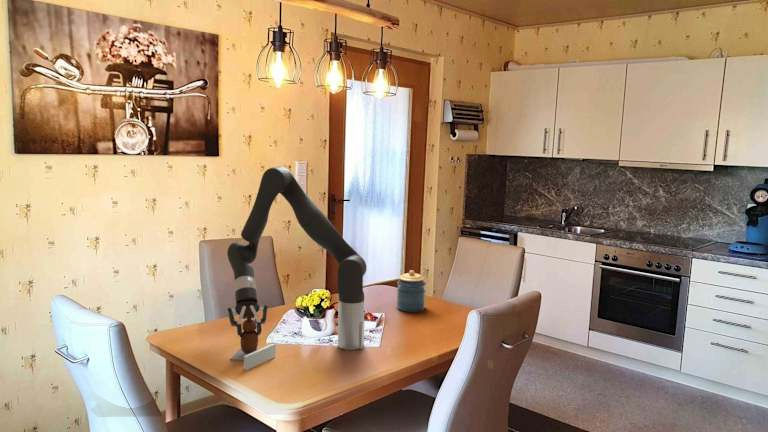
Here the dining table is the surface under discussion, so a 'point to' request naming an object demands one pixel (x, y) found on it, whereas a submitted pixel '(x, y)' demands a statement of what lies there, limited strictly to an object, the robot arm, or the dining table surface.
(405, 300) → the canister
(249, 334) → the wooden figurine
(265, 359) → the frosted wall
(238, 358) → the slate coaster
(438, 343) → the dining table surface
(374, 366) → the dining table surface
